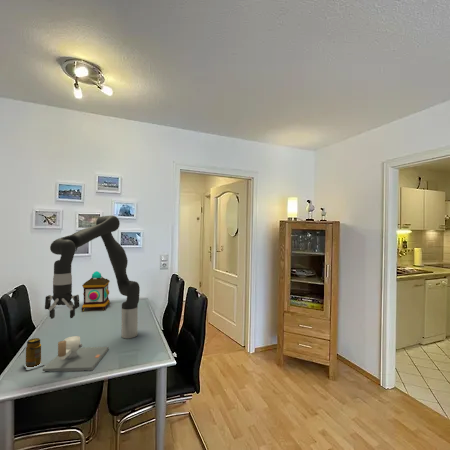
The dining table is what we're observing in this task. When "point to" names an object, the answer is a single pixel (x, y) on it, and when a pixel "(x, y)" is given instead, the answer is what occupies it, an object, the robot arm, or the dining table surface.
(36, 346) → the condiment
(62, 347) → the cream maraca
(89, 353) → the board
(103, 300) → the decorative lantern
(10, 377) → the dining table surface
